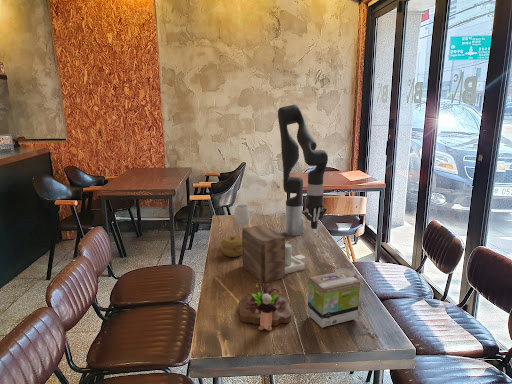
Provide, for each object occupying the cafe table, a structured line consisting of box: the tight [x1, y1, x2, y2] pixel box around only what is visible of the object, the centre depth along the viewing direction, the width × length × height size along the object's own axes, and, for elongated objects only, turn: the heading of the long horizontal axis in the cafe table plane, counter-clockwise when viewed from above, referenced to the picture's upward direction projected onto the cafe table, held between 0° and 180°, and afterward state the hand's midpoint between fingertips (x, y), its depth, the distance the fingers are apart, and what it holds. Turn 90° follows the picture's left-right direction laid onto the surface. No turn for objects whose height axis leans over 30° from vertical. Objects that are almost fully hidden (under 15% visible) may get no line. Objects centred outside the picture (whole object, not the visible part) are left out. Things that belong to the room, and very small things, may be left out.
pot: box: [220, 235, 243, 258], centre depth 187 cm, size 12×12×10 cm
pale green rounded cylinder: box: [285, 243, 293, 267], centre depth 173 cm, size 5×5×9 cm
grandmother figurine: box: [255, 294, 278, 331], centre depth 125 cm, size 8×4×13 cm, turn 90°
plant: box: [236, 282, 292, 327], centre depth 137 cm, size 20×20×11 cm
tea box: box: [306, 271, 361, 329], centre depth 131 cm, size 15×10×15 cm
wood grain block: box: [242, 224, 286, 284], centre depth 167 cm, size 11×19×18 cm, turn 28°
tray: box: [285, 254, 307, 275], centre depth 175 cm, size 16×14×3 cm
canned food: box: [335, 267, 357, 279], centre depth 144 cm, size 8×8×11 cm
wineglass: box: [233, 204, 251, 238], centre depth 201 cm, size 9×9×21 cm
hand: (314, 228), depth 178 cm, fingers closed
